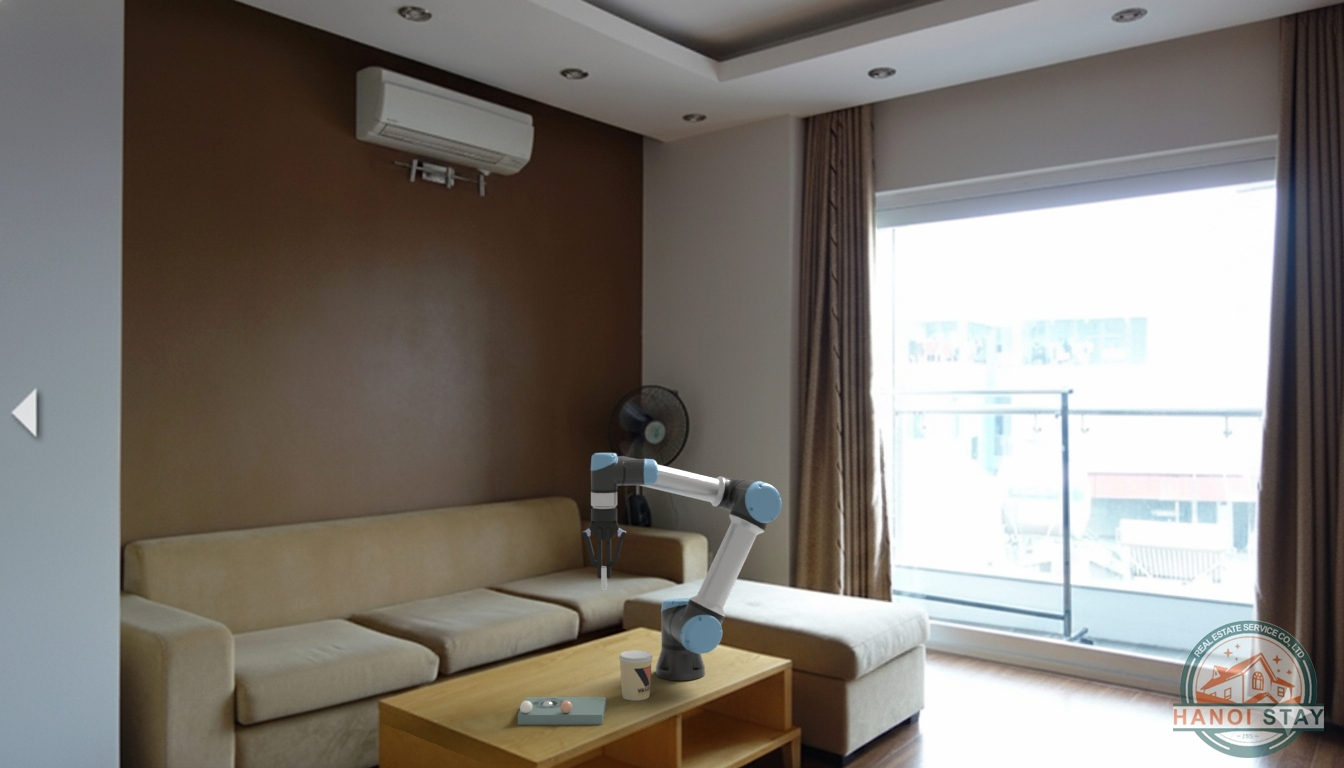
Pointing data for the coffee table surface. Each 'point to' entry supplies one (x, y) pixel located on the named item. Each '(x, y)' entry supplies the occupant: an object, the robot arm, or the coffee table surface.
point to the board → (581, 713)
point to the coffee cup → (635, 674)
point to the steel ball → (547, 703)
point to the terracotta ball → (566, 706)
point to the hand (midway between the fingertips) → (604, 589)
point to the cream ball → (526, 706)
